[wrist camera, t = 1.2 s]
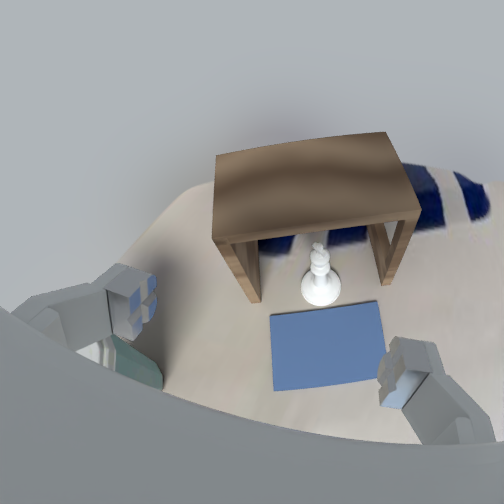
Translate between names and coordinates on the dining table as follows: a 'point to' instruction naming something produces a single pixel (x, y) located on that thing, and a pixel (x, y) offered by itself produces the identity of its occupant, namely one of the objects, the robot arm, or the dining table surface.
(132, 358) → the disposable coffee cup
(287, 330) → the mat
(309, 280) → the chess piece
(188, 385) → the dining table surface
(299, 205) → the tunnel
